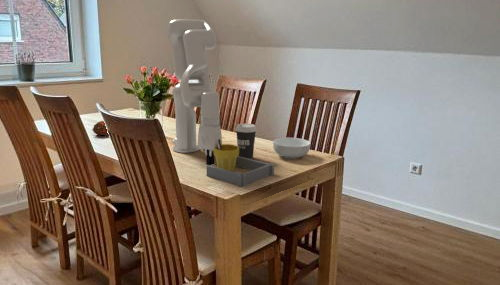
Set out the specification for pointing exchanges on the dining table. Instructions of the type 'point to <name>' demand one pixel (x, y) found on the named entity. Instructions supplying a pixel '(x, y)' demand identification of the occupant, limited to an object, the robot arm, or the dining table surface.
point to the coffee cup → (246, 139)
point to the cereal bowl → (291, 147)
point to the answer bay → (256, 173)
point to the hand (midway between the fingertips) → (210, 164)
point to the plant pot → (226, 156)
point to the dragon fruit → (100, 128)
